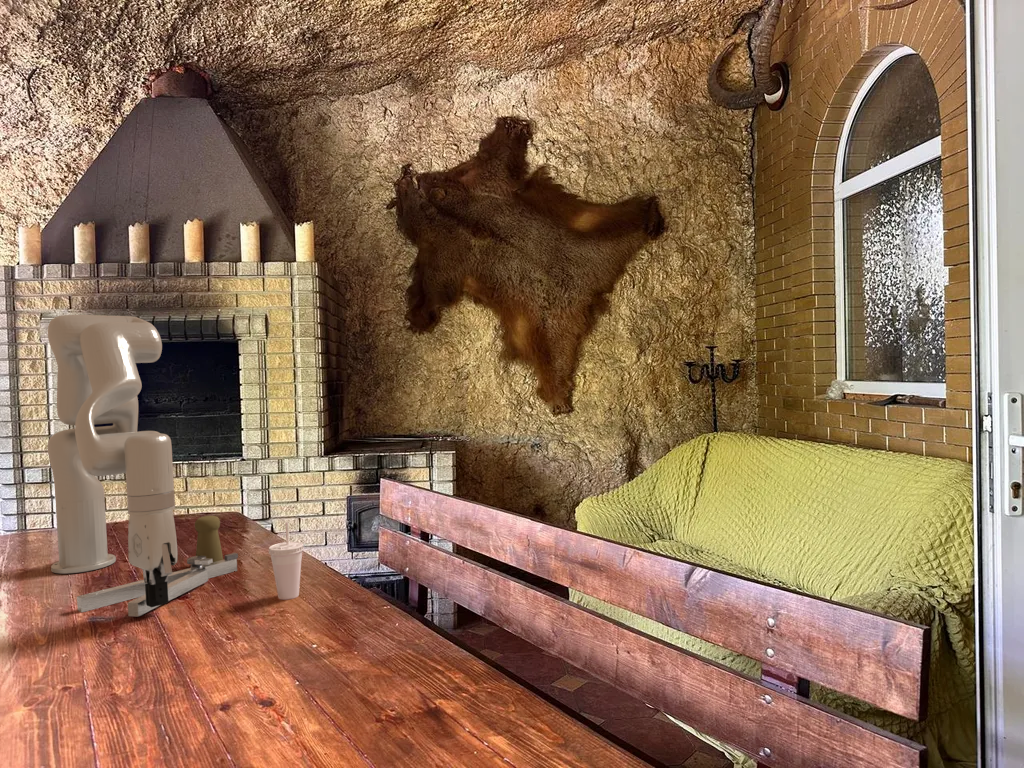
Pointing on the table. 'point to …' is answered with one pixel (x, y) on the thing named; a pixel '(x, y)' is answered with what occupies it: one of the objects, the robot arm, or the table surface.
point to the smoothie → (287, 566)
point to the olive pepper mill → (208, 538)
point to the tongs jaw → (175, 586)
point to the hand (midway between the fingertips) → (157, 604)
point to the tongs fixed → (138, 587)
